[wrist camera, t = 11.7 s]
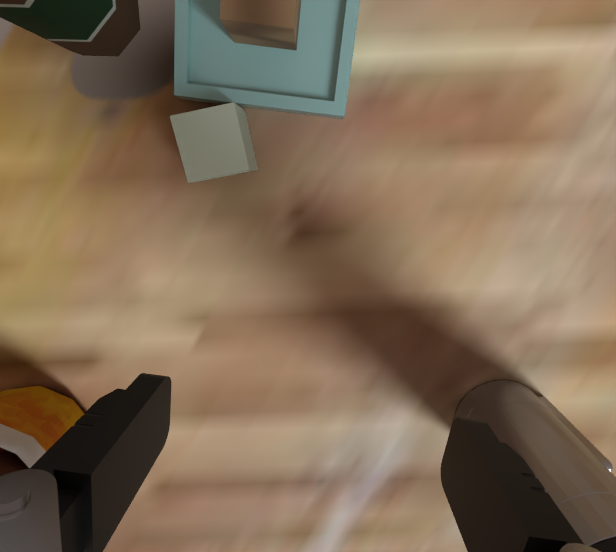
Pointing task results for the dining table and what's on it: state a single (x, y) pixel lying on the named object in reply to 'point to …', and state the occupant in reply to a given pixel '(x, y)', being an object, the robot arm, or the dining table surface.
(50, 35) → the beer bottle
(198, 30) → the teal tray
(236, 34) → the walnut block
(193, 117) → the sage block
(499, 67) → the dining table surface
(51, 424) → the bucket of meat
